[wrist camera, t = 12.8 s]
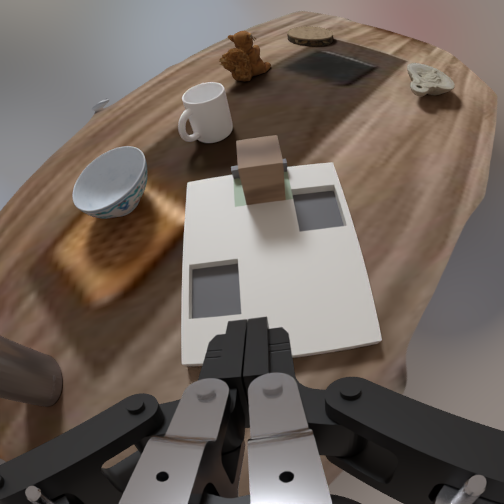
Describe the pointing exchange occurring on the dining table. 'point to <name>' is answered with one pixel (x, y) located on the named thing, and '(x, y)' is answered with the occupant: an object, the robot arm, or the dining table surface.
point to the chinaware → (112, 183)
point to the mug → (206, 113)
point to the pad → (239, 192)
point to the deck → (275, 265)
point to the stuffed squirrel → (244, 58)
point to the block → (261, 169)
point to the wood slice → (310, 36)
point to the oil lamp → (428, 80)
